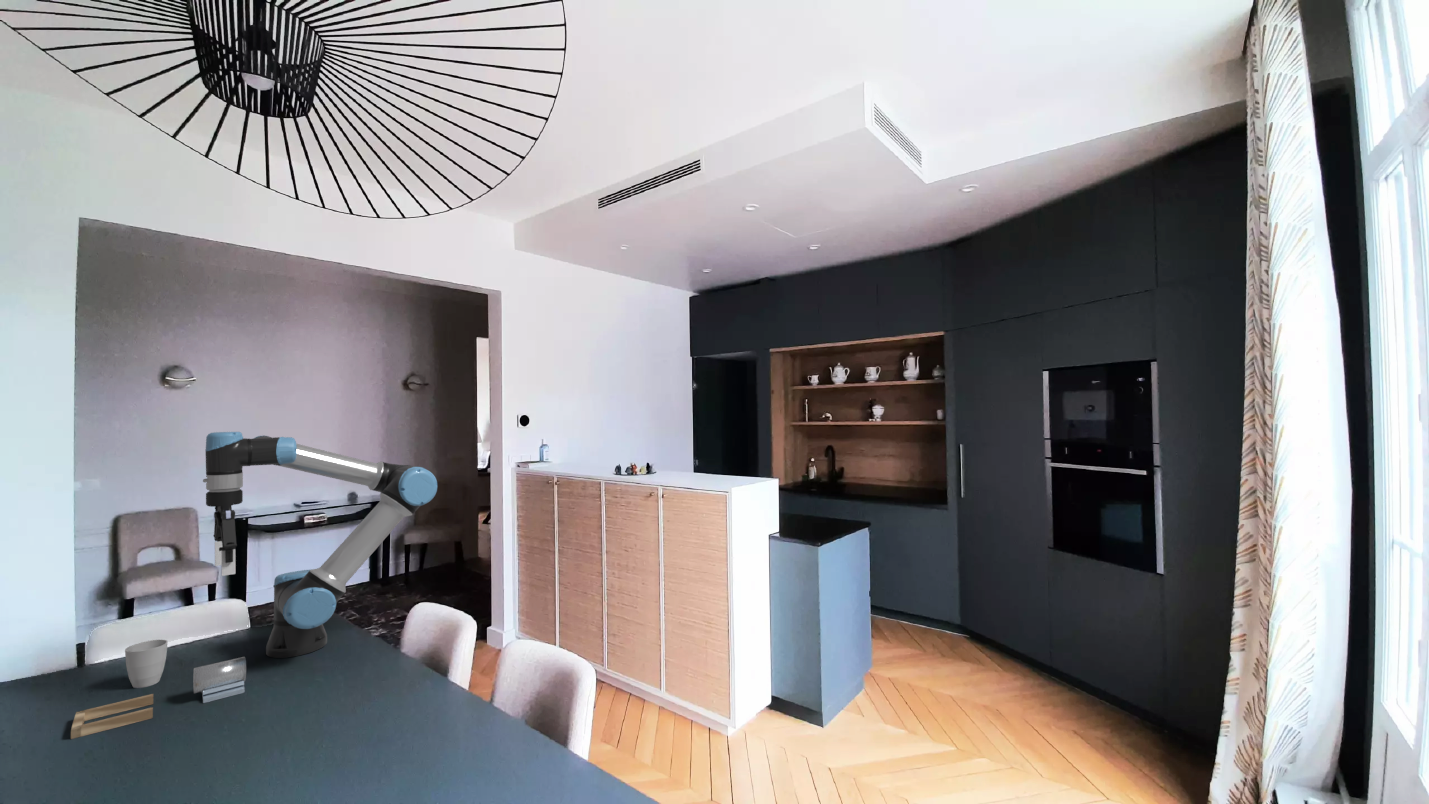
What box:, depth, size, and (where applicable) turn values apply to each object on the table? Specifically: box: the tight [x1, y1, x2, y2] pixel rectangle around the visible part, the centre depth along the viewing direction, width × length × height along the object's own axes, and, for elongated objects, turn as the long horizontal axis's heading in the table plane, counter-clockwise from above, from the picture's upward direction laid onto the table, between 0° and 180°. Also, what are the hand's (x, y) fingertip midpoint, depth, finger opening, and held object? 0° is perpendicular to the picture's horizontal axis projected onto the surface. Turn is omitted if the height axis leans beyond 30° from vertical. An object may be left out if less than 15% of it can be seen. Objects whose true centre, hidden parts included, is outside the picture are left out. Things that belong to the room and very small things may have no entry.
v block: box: [201, 681, 246, 704], centre depth 151 cm, size 8×8×2 cm
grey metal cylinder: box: [192, 656, 247, 694], centre depth 150 cm, size 10×6×6 cm, turn 133°
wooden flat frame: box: [70, 693, 154, 740], centre depth 137 cm, size 10×13×2 cm
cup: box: [124, 639, 169, 689], centre depth 155 cm, size 8×8×10 cm
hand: (224, 569), depth 157 cm, fingers open, 13 cm apart
